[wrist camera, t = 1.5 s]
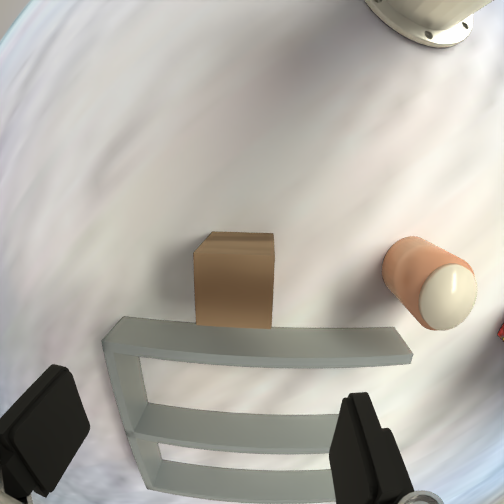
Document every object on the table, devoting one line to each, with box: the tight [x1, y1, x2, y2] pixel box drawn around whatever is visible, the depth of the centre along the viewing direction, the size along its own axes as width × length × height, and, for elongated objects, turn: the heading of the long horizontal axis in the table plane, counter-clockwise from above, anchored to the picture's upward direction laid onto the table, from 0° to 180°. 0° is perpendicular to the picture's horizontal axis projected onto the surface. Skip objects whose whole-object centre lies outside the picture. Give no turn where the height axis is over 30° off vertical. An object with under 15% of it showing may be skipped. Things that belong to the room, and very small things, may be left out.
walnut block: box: [193, 232, 275, 329], centre depth 23 cm, size 5×5×7 cm
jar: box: [382, 236, 477, 330], centre depth 22 cm, size 6×6×8 cm
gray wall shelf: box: [102, 316, 413, 504], centre depth 29 cm, size 23×26×5 cm
